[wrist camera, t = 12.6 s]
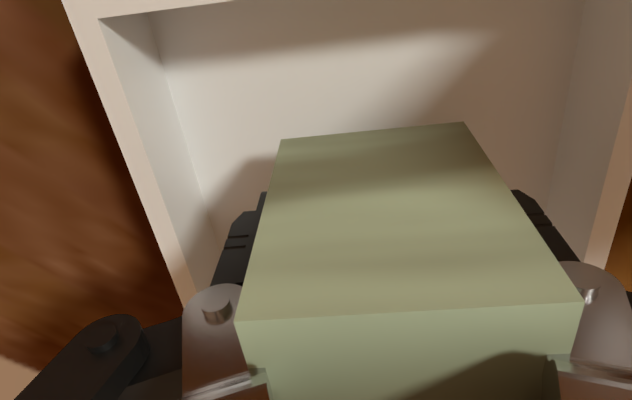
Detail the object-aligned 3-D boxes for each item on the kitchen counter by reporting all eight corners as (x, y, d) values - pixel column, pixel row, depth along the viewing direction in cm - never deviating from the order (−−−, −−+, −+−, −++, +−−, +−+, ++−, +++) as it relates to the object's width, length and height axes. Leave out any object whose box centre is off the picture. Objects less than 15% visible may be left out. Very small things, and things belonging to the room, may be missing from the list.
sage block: (281, 139, 11) (233, 321, 6) (463, 121, 10) (585, 301, 5) (304, 273, 13) (285, 487, 8) (455, 263, 13) (533, 483, 8)
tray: (121, -24, 11) (57, -10, 9) (616, -94, 10) (714, -102, 7) (228, 308, 18) (210, 374, 15) (539, 289, 16) (577, 357, 14)
